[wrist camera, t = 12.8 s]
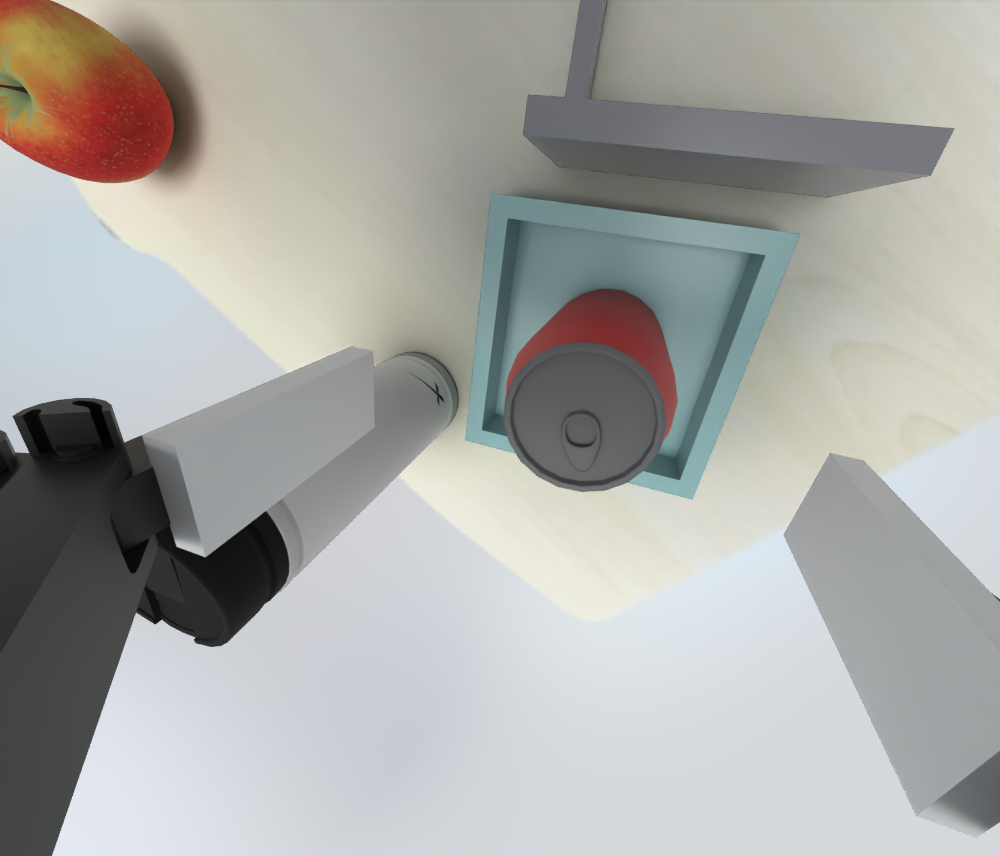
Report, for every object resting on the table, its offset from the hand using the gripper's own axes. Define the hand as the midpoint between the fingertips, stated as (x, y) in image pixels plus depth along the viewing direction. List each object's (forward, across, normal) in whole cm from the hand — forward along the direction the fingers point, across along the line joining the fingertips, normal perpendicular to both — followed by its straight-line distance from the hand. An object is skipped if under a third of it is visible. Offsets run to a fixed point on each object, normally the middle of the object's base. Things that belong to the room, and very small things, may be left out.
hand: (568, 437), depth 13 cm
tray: (+15, 0, -1) cm, 15 cm away
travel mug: (+15, -12, -7) cm, 20 cm away
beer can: (+14, 0, -1) cm, 14 cm away
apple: (+15, -32, +8) cm, 36 cm away
